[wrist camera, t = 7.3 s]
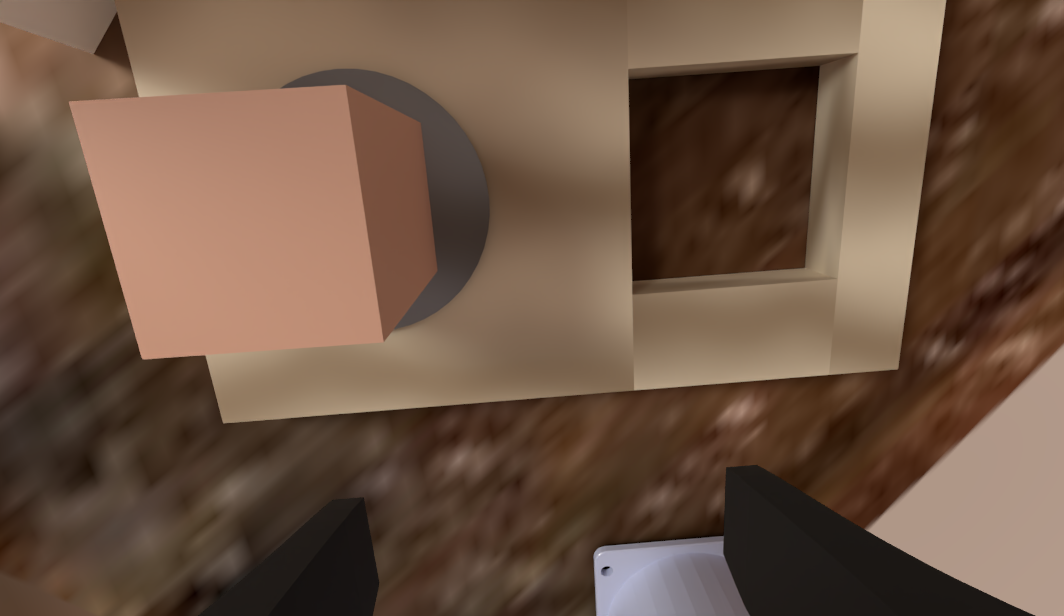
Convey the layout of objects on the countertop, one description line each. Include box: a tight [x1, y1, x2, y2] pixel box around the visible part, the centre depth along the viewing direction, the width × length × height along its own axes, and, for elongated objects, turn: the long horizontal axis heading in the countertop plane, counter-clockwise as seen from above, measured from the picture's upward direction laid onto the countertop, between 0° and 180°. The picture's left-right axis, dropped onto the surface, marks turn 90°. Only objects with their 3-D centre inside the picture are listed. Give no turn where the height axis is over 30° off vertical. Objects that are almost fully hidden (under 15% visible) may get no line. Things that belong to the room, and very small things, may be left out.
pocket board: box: [114, 0, 946, 423], centre depth 17 cm, size 14×24×2 cm, turn 94°
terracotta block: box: [69, 85, 438, 359], centre depth 12 cm, size 4×4×7 cm
